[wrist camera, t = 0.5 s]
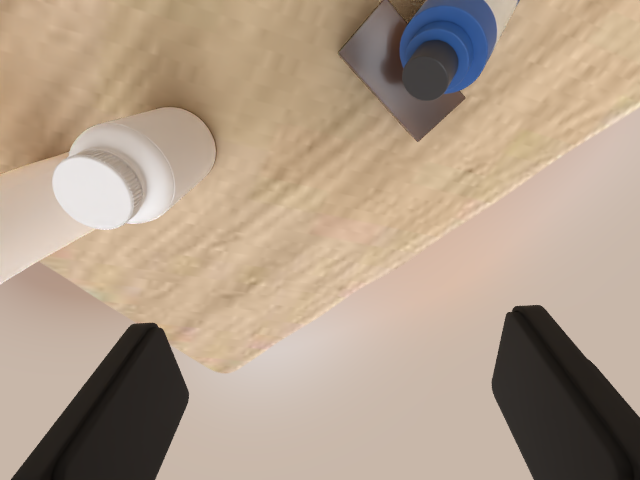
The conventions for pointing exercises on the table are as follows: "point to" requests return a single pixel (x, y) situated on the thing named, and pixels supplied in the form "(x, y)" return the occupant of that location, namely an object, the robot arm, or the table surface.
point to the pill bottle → (133, 167)
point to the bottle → (450, 44)
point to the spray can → (32, 217)
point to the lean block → (392, 72)
